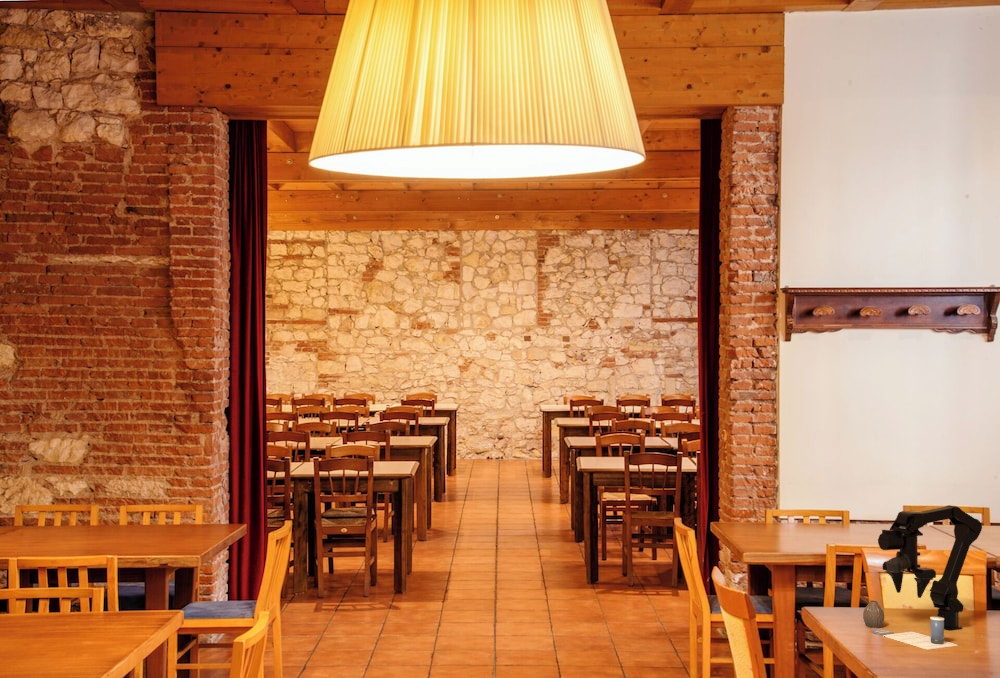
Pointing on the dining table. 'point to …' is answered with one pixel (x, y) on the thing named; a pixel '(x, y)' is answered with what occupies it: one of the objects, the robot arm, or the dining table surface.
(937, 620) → the grey capped bottle
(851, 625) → the dining table surface
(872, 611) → the vase
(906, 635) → the paper
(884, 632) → the grey striped tile
